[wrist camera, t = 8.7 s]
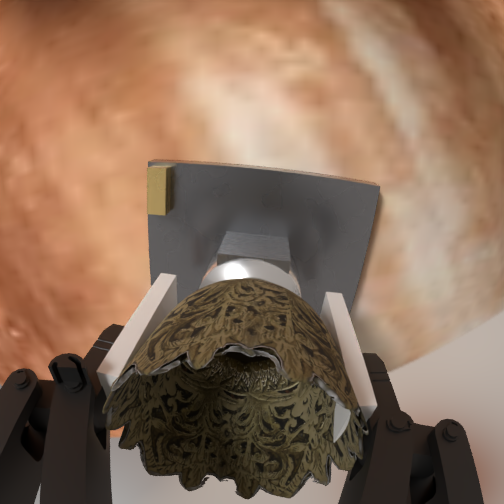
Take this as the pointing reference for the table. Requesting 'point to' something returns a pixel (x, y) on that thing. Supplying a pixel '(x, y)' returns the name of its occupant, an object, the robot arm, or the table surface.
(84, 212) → the table surface
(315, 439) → the scalloped lamp shade
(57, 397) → the robot arm
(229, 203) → the grey plate with knob
